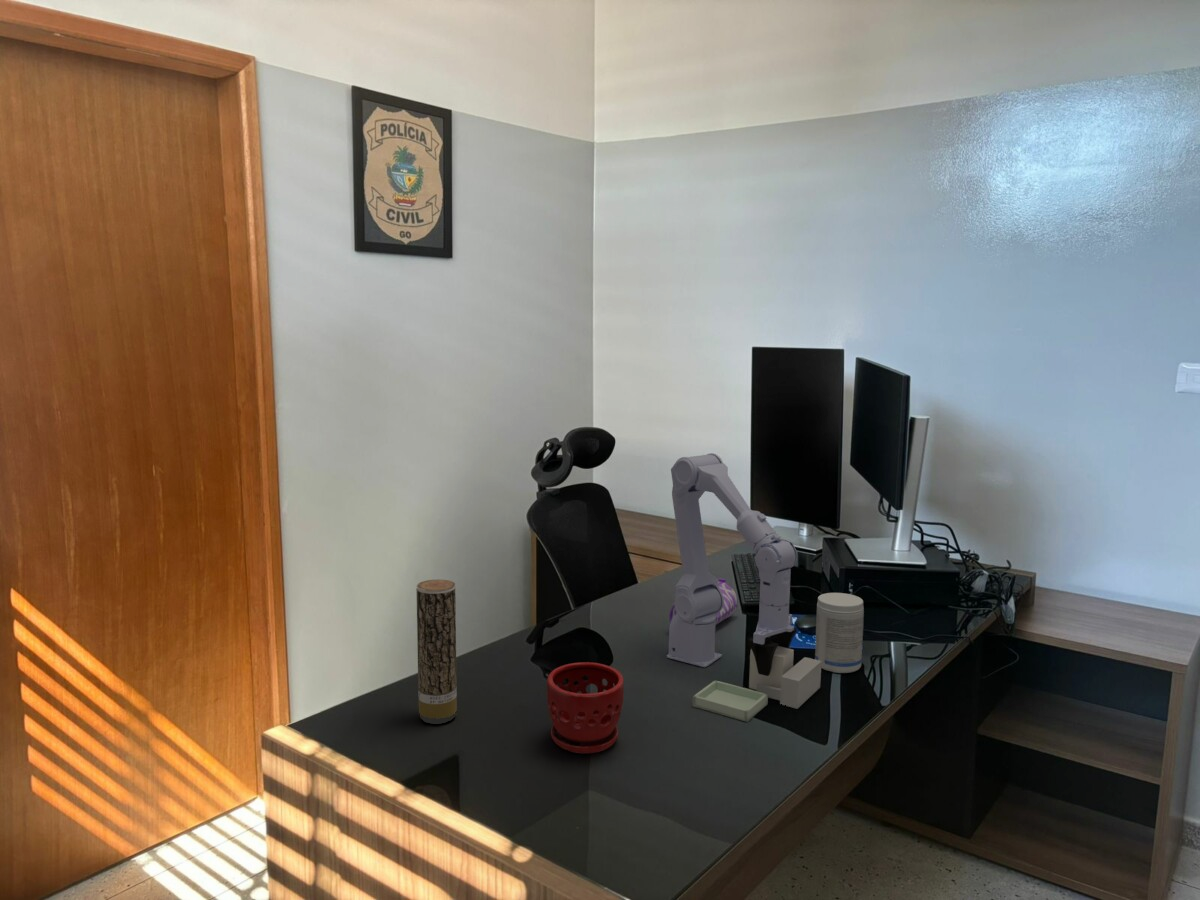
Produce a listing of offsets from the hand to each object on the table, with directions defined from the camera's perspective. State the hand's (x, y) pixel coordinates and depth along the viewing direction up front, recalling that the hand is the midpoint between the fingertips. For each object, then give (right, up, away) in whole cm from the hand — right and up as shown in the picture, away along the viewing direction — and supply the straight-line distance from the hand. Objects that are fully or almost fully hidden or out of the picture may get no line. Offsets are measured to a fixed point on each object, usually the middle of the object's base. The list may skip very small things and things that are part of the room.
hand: (771, 668), depth 174 cm
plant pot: (-37, -7, -23) cm, 44 cm away
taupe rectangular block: (0, -4, +1) cm, 4 cm away
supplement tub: (+16, -3, +12) cm, 21 cm away
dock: (+3, -4, -1) cm, 5 cm away
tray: (-9, -5, -8) cm, 13 cm away
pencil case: (-9, +1, +35) cm, 37 cm away
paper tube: (-63, -6, -14) cm, 65 cm away
